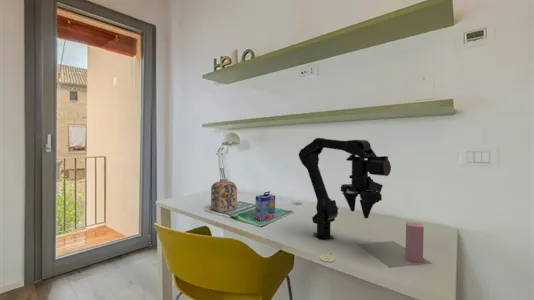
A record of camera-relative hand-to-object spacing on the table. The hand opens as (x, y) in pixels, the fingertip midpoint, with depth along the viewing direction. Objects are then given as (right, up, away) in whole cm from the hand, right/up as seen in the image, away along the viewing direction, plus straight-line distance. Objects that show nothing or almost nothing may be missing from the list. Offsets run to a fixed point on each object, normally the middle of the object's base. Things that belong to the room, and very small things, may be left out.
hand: (359, 214), depth 94 cm
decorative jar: (-60, -11, +56) cm, 83 cm away
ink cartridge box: (-36, -12, +37) cm, 53 cm away
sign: (-11, -14, -4) cm, 18 cm away
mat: (+10, -13, -4) cm, 17 cm away
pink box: (+15, -13, -9) cm, 22 cm away
